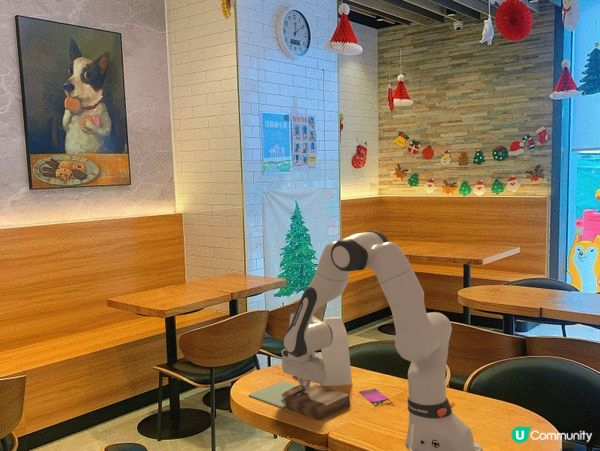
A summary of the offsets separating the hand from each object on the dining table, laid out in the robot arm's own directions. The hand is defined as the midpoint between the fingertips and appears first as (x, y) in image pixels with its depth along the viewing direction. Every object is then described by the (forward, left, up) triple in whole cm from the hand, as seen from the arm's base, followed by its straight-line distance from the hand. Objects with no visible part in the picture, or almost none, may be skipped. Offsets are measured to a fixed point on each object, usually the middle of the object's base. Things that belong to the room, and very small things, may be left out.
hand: (304, 389), depth 208 cm
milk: (+6, -24, -5) cm, 25 cm away
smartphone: (-18, -19, -6) cm, 27 cm away
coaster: (+5, 0, -3) cm, 5 cm away
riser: (-6, 0, -5) cm, 8 cm away
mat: (+13, 0, -5) cm, 14 cm away
